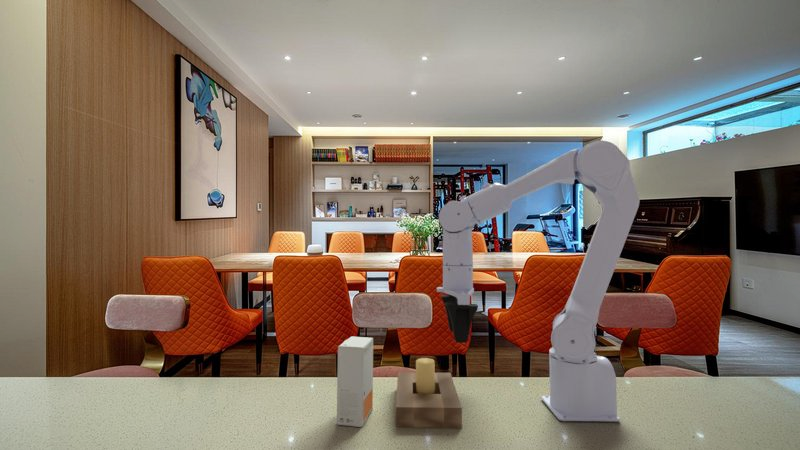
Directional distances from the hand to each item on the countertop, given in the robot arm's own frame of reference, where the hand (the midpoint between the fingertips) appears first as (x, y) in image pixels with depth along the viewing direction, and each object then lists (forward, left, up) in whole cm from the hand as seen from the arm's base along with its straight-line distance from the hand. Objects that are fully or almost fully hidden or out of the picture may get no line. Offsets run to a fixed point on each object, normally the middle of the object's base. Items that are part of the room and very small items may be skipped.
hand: (458, 336), depth 68 cm
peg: (+7, +7, -9) cm, 13 cm away
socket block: (+7, +7, -10) cm, 14 cm away
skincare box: (+18, +11, -10) cm, 23 cm away
